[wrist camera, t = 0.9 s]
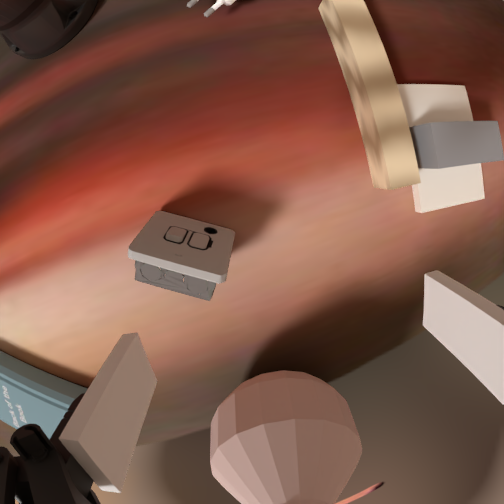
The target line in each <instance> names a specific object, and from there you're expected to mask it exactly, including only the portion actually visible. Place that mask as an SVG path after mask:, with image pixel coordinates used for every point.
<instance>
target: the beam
mask: <svg viewBox="0 0 504 504" xmlns="http://www.w3.org/2000/svg"><path fill="white" fill-rule="evenodd" d="M318 9H319V11H320V13H321V16H322V18H323V21H324V23H325V25H326V28H327V30H328V33H329V36H330V38H331V41H332V43H333V46H334V49H335V51H336V54H337V57H338V60H339V63H340V65H341V68H342V71H343V74H344V77H345V80H346V83H347V87H348V90H349V93H350V96H351V99H352V103H353V106H354V110H355V113H356V117H357V120H358V124H359V128H360V131H361V135H362V139H363V143H364V147H365V151H366V155H367V159H368V164H369V168H370V173H371V177H372V182H373V187H374V188H381V189H388V190H393V189H397V188H401V187H406V186H410V185H414V184H419V183H421V181H420V175H419V170H418V165H417V160H416V155H415V150H414V146H413V141H412V137H411V133H410V129H409V125H408V121H407V117H406V114H405V110H404V107H403V103H402V100H401V96H400V93H399V90H398V87H397V83H396V80H395V77H394V74H393V71H392V68H391V66H390V63H389V60H388V57H387V55H386V52H385V49H384V47H383V44H382V41H381V39H380V37H379V34H378V32H377V29H376V27H375V25H374V22H373V20H372V18H371V15H370V13H369V11H368V9H367V7H366V5H365V2H364V0H322V2H321V4H320V6H319V8H318Z"/></svg>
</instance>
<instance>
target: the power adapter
mask: <svg viewBox="0 0 504 504" xmlns="http://www.w3.org/2000/svg"><path fill="white" fill-rule="evenodd" d="M198 1H199V0H191V1H190V2H188V3H187V6H188V7H192V6H193V5H194V4H196V3H197V2H198ZM235 1H236V0H217V2H216V3H215V4H214V5H213V6H212V7H210V8H209V9H208V10H207V11H206V12H205V13H204V16H205V17H209V16H210V15H211V14H212V13H213V12H214V11H215V10H216V9H217V8H218V7H220V6H221V5H222V4H224V5H226V6H229V5H231V4H232V3H233V2H235Z"/></svg>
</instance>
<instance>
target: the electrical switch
mask: <svg viewBox="0 0 504 504" xmlns="http://www.w3.org/2000/svg"><path fill="white" fill-rule="evenodd" d="M234 237H235V232H234V231H233V230H231V229H228V228H224V227H221V226H217V225H213V224H210V223H206V222H202V221H198V220H195V219H191V218H187V217H183V216H179V215H176V214H172V213H168V212H164V211H156V212H155V214H154V215H153V216H152V217H151V219H150V220H149V221H148V222H147V224H146V225H145V226H144V227H143V229H142V230H141V231H140V233H139V234H138V235H137V236H136V238H135V239H134V240H133V242H132V243H131V244H130V246H129V249H128V257H129V258H130V259H133V260H136V261H135V268H136V274H135V280H137V281H140V282H143V283H147V284H150V285H154V286H157V287H161V288H164V289H168V290H171V291H175V292H178V293H182V294H186V295H189V296H193V297H197V298H200V299H204V300H208V301H210V299H211V298H212V295H213V292H214V289H215V286H216V283H219V284H220V283H223V282H225V281H226V278H227V272H228V267H229V262H230V257H231V252H232V247H233V242H234ZM159 268H160V269H161V270H160V269H159ZM141 272H142V273H141ZM183 274H184V275H183ZM184 277H185V278H184ZM183 278H184V282H183ZM149 280H150V281H149ZM207 280H208V281H207ZM199 294H200V295H199Z"/></svg>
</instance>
